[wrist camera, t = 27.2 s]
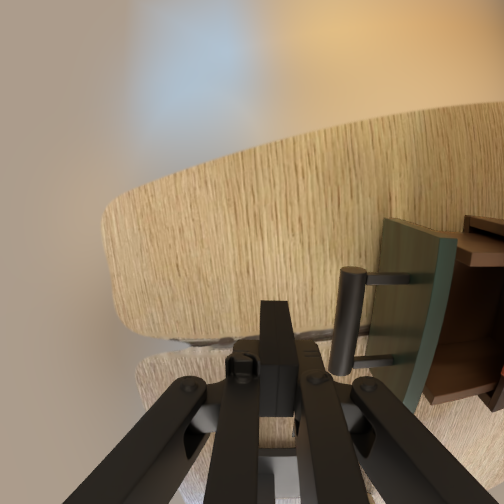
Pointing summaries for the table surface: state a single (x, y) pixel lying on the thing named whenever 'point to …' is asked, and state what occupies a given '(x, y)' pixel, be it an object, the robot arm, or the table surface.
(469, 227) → the cabinet
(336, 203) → the table surface
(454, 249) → the drawer
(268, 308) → the robot arm
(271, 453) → the stand
